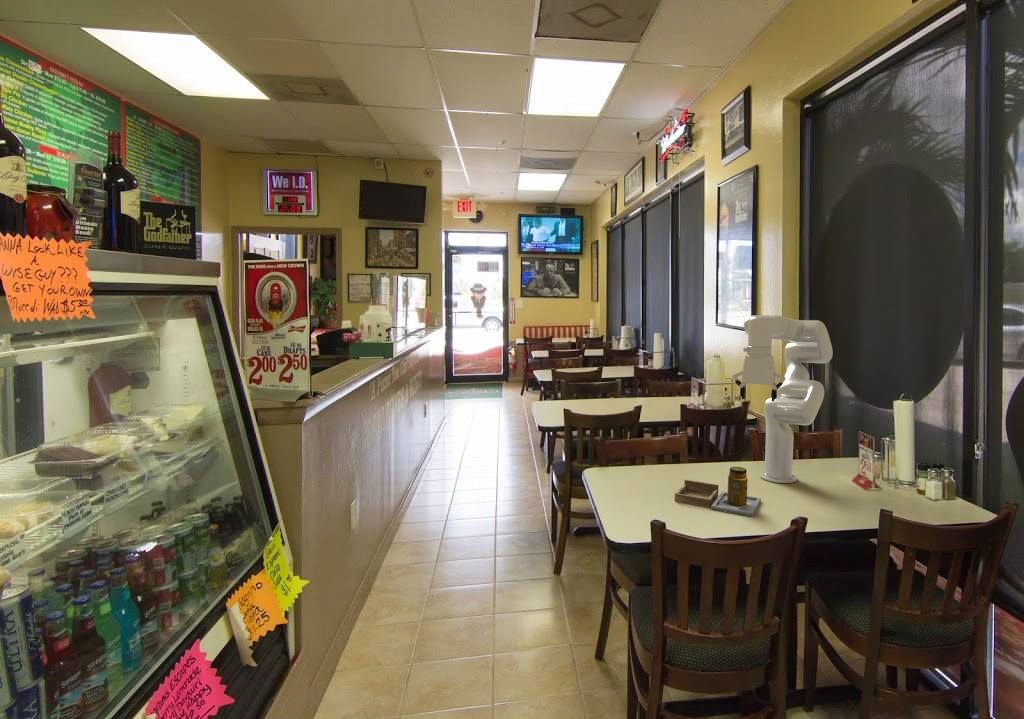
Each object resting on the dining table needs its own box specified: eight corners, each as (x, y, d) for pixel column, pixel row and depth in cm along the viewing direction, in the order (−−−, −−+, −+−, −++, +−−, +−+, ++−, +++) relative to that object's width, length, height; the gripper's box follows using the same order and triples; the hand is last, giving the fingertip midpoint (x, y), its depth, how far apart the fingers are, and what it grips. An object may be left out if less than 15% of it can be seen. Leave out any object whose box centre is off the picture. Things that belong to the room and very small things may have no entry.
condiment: (752, 504, 182) (753, 469, 181) (737, 510, 177) (738, 474, 176) (732, 498, 188) (733, 464, 187) (717, 503, 183) (718, 468, 182)
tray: (722, 494, 192) (722, 491, 192) (760, 501, 186) (760, 498, 186) (711, 509, 179) (711, 505, 179) (752, 516, 172) (752, 513, 172)
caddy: (684, 490, 198) (685, 479, 197) (718, 495, 192) (718, 484, 191) (674, 500, 187) (674, 489, 187) (709, 507, 181) (709, 495, 181)
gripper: (731, 351, 193) (730, 399, 194) (785, 353, 183) (783, 403, 185) (735, 350, 199) (734, 396, 200) (788, 351, 189) (786, 400, 191)
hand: (758, 399), depth 193 cm, fingers open, 9 cm apart
